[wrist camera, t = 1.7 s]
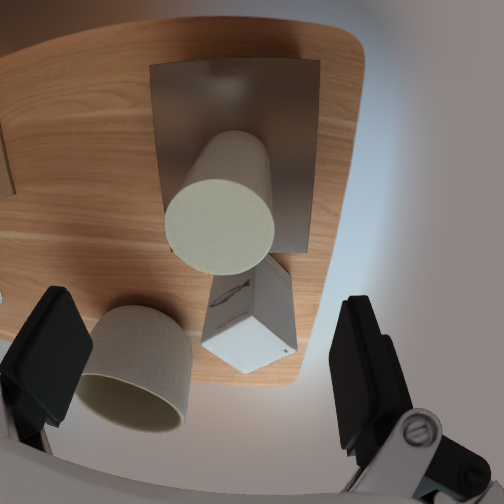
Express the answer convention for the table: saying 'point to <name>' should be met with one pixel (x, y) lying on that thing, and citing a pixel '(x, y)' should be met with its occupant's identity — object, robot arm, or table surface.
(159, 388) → the planter
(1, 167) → the mat
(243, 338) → the white packaging box
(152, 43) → the table surface
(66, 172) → the table surface
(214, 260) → the cream mug
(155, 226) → the table surface
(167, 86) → the brown lidded box
